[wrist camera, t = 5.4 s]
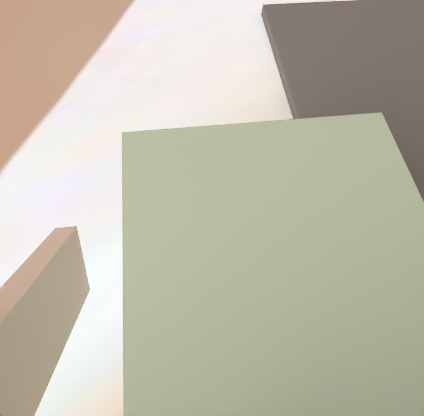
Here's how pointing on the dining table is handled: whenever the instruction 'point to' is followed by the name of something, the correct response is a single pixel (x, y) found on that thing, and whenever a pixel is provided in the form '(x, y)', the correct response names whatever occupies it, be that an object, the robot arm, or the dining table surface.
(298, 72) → the mat
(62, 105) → the dining table surface
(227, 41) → the dining table surface
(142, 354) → the sage block
